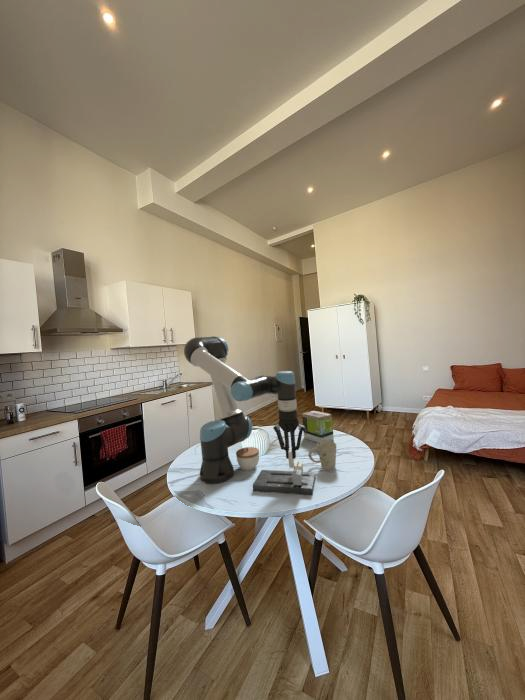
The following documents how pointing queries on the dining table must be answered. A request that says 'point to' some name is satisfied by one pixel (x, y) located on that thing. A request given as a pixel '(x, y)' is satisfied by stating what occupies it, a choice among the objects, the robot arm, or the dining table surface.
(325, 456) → the mug
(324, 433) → the tea box
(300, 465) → the fader left
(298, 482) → the fader right
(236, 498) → the dining table surface
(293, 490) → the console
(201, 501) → the dining table surface
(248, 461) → the lidded jar
